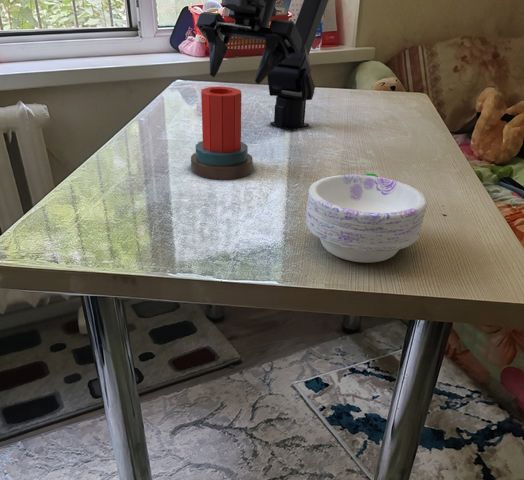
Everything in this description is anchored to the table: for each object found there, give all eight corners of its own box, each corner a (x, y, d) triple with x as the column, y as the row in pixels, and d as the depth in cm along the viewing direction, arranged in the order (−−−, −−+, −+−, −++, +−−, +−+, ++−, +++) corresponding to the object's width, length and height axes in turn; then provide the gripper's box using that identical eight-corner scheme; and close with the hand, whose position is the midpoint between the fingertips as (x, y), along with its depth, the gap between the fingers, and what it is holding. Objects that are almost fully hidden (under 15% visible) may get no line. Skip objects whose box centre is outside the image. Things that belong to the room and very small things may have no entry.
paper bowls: (391, 222, 82) (401, 170, 77) (433, 271, 70) (448, 213, 66) (292, 226, 80) (296, 172, 75) (319, 278, 68) (325, 218, 63)
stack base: (226, 155, 105) (226, 133, 102) (264, 171, 98) (265, 148, 96) (179, 166, 99) (177, 144, 96) (217, 184, 92) (216, 160, 90)
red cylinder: (224, 138, 100) (223, 84, 95) (248, 147, 96) (249, 92, 91) (194, 144, 96) (192, 89, 91) (219, 154, 92) (218, 97, 87)
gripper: (195, -44, 92) (167, 46, 93) (296, -38, 85) (264, 59, 86) (223, 1, 102) (197, 81, 103) (314, 9, 96) (286, 95, 96)
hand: (234, 79), depth 97 cm, fingers open, 9 cm apart
